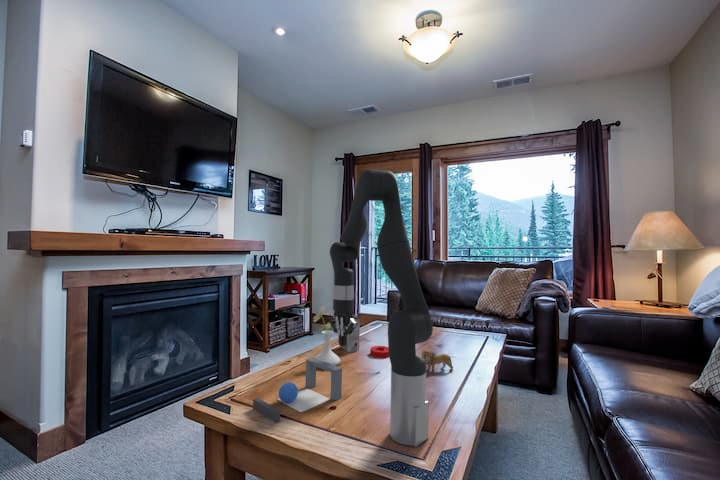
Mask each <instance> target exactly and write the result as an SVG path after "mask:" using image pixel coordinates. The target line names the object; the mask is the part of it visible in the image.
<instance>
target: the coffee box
mask: <svg viewBox="0 0 720 480" xmlns="http://www.w3.org/2000/svg"><path fill="white" fill-rule="evenodd" d="M352 315H353V320H354V321H355V322H358V325H357V326H356V328H355V329H354V330H353V332H352V333H351V334H349V335H347V344H346V345H345V346H340V347H341V349H342V350H344V351H346V352H347V353H351V352H353V353H354V352H359V351H360V336H361V335H360V332H361V317H359V316H357V315H355V314H353V313H352Z"/></svg>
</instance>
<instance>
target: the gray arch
mask: <svg viewBox="0 0 720 480" xmlns="http://www.w3.org/2000/svg"><path fill="white" fill-rule="evenodd" d="M317 368H318V369H320V370H321V369H322V370H323V371H326V372H329V373H330V400H332V401H334V402H335V401H337V400H339V399H342V390H343V389H342V388H343V386H342V385H343V381H342V380H343V379H342V378H343V367H340V366H338V365H336V366H335V365H332V364H329V363H327V362H324V361H321V360H318V359H316V358H315V357H310V358H306V360H305V385H304V386H305V389H306V388H308V389H310V390H311V389H312V388H315V387H316V386H317V384H316V383H317V382H316V381H317Z"/></svg>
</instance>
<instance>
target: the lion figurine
mask: <svg viewBox="0 0 720 480" xmlns="http://www.w3.org/2000/svg"><path fill="white" fill-rule="evenodd" d="M421 357H422V358H423V359H424V360H425V361H426V366H427V367H428V368H426V372H427V371H430V373H431V374H434V373H435V366H436V365H440V364H442V367H440V370H445V368H446V366H447V367H449V368H450V369H449V372H453V371H454V370H453V369H454V366H453V363H452V359H451V357H450V355H448V354H447V353H440V354H436V353H434V352H433V351H431V350H430V349H424V350H423V351H422V353H421Z"/></svg>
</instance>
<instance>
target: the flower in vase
mask: <svg viewBox="0 0 720 480" xmlns="http://www.w3.org/2000/svg"><path fill="white" fill-rule="evenodd" d="M325 308H326V307H325V306H324V305H323V306H320V307H319V310H318V311H316V312H315V315H314V316H313V317H312V322H313V323H317V322H318V321H319V320H320V319H322V322H323V325H321V326H320V327H319V328H318V332H321V334H322V336H323V342H324V348H323V349H322V351H321V352H319V353H318V354H317V355H316V356H315V357H314V358H316V359H318V360H321V361H324V362H327V363H329V364H332V365H335V366H338V365H339V364H340V363H341V359H340V357H339V356H338V355H337V354H336V353H335V352H333V351H332V350H331V343H330V342H331V338H332V335H333V334H334V330H329V329H331V327H332V325H331V323H330V321H329V322H327V323H325V319H324V317H323V315H324V312H325ZM324 328H325V330H324Z"/></svg>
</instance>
